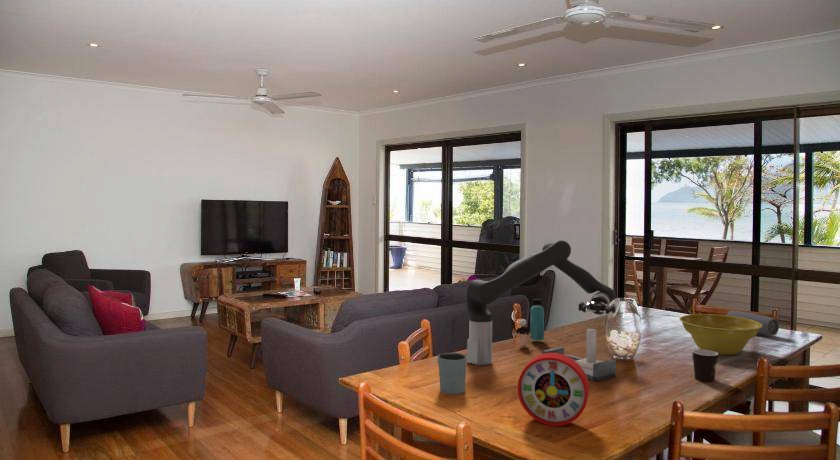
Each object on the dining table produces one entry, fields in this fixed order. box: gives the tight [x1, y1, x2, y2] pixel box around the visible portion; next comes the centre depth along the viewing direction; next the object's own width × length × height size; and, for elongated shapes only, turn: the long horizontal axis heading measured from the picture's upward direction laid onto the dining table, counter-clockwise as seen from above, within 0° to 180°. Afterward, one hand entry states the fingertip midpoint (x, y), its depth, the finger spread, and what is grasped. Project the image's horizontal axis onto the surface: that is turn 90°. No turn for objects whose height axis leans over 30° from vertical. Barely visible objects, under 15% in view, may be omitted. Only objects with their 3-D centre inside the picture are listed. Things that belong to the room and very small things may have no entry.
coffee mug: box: [691, 349, 719, 383], centre depth 215 cm, size 12×9×10 cm
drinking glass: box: [437, 352, 468, 395], centre depth 201 cm, size 10×10×12 cm
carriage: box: [576, 328, 604, 370], centre depth 220 cm, size 8×8×15 cm
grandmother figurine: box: [514, 318, 531, 349], centre depth 261 cm, size 8×4×13 cm, turn 108°
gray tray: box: [541, 346, 617, 382], centre depth 225 cm, size 11×26×6 cm, turn 37°
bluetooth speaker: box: [726, 310, 780, 336], centre depth 291 cm, size 23×9×10 cm, turn 25°
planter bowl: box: [679, 313, 763, 356], centre depth 255 cm, size 32×32×13 cm
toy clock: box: [517, 353, 590, 427], centre depth 172 cm, size 20×6×20 cm, turn 69°
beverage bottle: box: [529, 298, 545, 341], centre depth 272 cm, size 6×7×20 cm
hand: (595, 310), depth 231 cm, fingers open, 8 cm apart
